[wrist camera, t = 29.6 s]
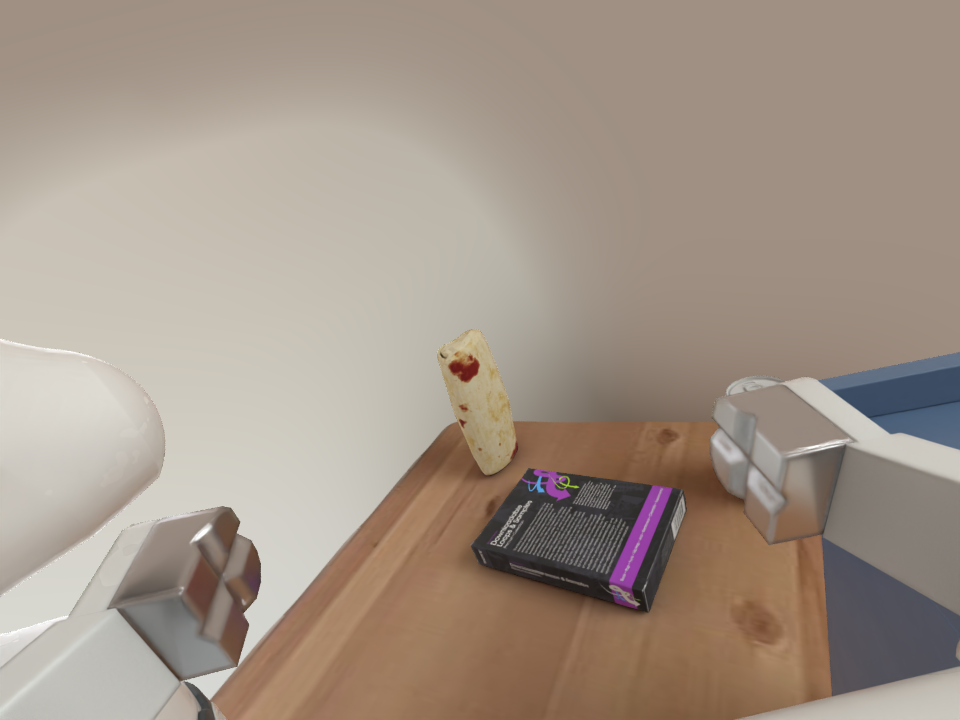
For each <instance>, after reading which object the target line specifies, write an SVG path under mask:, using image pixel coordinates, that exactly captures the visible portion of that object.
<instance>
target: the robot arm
mask: <svg viewBox="0 0 960 720" xmlns="http://www.w3.org/2000/svg"><path fill="white" fill-rule="evenodd" d="M712 419H713V420H714V421H715V422H716V423H717V424H718V426H719V428H718V429H717V431H716V432H715V433H714V435H713V436H712V437H711V438H710V457H711V461H712V465H713V469H714V471H715V473H716V475H717V477H718V479H719V481H720V482H721V484H722V485H723V486H724V488H725V489H726V491H727V492H728V493H730V494H732V495H734V496H737V497H739V498H741V499H743V500H745V504H744V514H745V515H746V516H747V518H748V519H749V520H750V522H751V523H752V524H753V525H754V527H755V528H756V529H757V530H758V532H759V533H760V534H761V536H762V537H763V538H764V539H765V541H766V542H767V543H768V544H769V545H772V544H777V543H782V542H787V541H792V540H797V539H802V538H807V537H812V536H817V535H822V534H823V538H825V539H827V540H829V541H830V542H832V543H834V544H836V545H837V546H839V547H841V548H843V549H844V550H846V551H848V552H849V553H851V554H853V555H855V556H856V557H858V558H860V559H862V560H863V561H865V562H867V563H869V564H870V565H872V566H874V567H876V568H877V569H879V570H881V571H883V572H884V573H886V574H888V575H890V576H891V577H893V578H895V579H897V580H898V581H900V582H902V583H904V584H905V585H907V586H909V587H911V588H912V589H914V590H916V591H918V592H919V593H921V594H923V595H925V596H926V597H928V598H930V599H932V600H933V601H935V602H937V603H939V604H940V605H942V606H944V607H945V608H947V609H949V610H951V611H952V612H954V613H956V614H958V615H959V616H960V450H958V449H954V448H951V447H948V446H944V445H941V444H938V443H934V442H931V441H927V440H924V439H921V438H917V437H914V436H911V435H907V434H904V433H897V434H892V435H891V434H889V433H888V432H886V431H885V430H884V429H882V428H881V427H880V426H878V425H877V424H876V423H874V422H873V421H872V420H870V419H869V418H867V417H866V416H865V415H863V414H862V413H861V412H859V411H858V410H857V409H855V408H854V407H853V406H851V405H850V404H848V403H847V402H846V401H844V400H843V399H842V398H840V397H839V396H838V395H836V394H835V393H833V392H832V391H831V390H829V389H828V388H827V387H825V386H824V385H823V384H821V383H820V382H819V381H817V380H815V379H812V378H808V377H803V378H799V379H795V380H790V381H786V382H782V383H778V384H776V385H773V386H768V387H764V388H759V389H755V390H750V391H746V392H741V393H737V394H733V395H728V396H724V397H719V398H717V399H716V401H715V403H714V405H713V412H712ZM164 455H165V435H164V429H163V425H162V421H161V418H160V415H159V413H158V411H157V408H156V406H155V405H154V403H153V401H152V400H151V398H150V397H149V395H148V394H147V393H146V392H145V390H144V389H143V388H142V387H141V386H140V385H139V384H138V383H137V382H136V381H135V380H133V379H132V378H131V377H130V376H128V375H127V374H126V373H124V372H123V371H121V370H120V369H118V368H116V367H114V366H112V365H111V364H109V363H107V362H104V361H102V360H99V359H97V358H94V357H91V356H88V355H85V354H81V353H77V352H72V351H66V350H57V349H47V348H40V347H34V346H28V345H23V344H18V343H15V342H11V341H7V340H3V339H0V597H1V596H3V595H4V594H6V593H7V592H9V591H10V590H12V589H13V588H15V587H16V586H18V585H20V584H21V583H22V582H24V581H26V580H27V579H29V578H30V577H32V576H33V575H35V574H36V573H38V572H39V571H41V570H42V569H44V568H46V567H47V566H48V565H50V564H52V563H53V562H55V561H56V560H58V559H59V558H61V557H62V556H64V555H65V554H67V553H68V552H70V551H72V550H73V549H75V548H76V547H78V546H79V545H81V544H82V543H84V542H85V541H87V540H88V539H90V538H91V537H93V536H94V535H95V534H96V533H98V532H99V531H100V530H101V529H102V528H103V527H104V526H106V525H107V524H108V523H109V522H110V521H111V520H112V519H114V518H115V517H116V516H117V515H118V514H119V513H120V512H122V511H123V510H124V509H125V508H126V507H127V506H128V505H129V504H130V503H131V502H133V501H134V500H135V499H136V498H137V497H138V496H139V495H140V494H141V493H142V492H143V491H144V490H146V489H147V488H148V486H150V485H151V484H152V483H153V482H154V481H155V480H156V479H157V478H158V477H159V475H160V472H161V469H162V466H163V461H164ZM239 524H240V521H239V519H238V518H237V516H236V515H235V513H234V512H233V510H232V509H231V508H229V507H224V506H222V507H217V508H211V509H206V510H201V511H196V512H191V513H186V514H181V515H176V516H171V517H165V518H162V519H159V520H153V521H148V522H143V523H138V524H133V525H130V526H129V527H127V528H126V529H124V530H123V531H121V533H120V535H119V536H118V538H117V539H116V541H115V543H114V544H113V546H112V547H111V549H110V550H109V552H108V554H107V555H106V557H105V559H104V560H103V562H102V563H101V565H100V566H99V568H98V570H97V571H96V573H95V574H94V576H93V578H92V579H91V581H90V582H89V584H88V586H87V587H86V589H85V591H84V592H83V594H82V595H81V597H80V599H79V600H78V602H77V603H76V605H75V607H74V608H73V610H72V611H71V613H70V614H69V616H64V617H59V618H56V619H52V620H49V621H45V622H42V623H39V624H36V625H33V626H30V627H26V628H23V629H20V630H16V631H13V632H8V633H3V634H0V720H227V719H226V717H225V716H224V715H223V713H222V712H221V711H220V710H219V708H218V707H217V706H216V705H215V704H214V702H212V703H211V702H210V701H209V700H208V699H207V698H206V696H205V695H204V694H203V693H202V692H201V691H200V690H199V689H198V688H197V687H196V686H194V685H193V684H191V683H188V682H184V681H183V680H187V679H191V678H195V677H199V676H203V675H206V674H210V673H214V672H218V671H222V670H226V669H230V668H233V667H237V666H238V662H239V659H240V655H241V651H242V648H243V645H244V641H245V638H246V634H247V631H248V627H249V623H248V621H247V620H246V618H245V616H244V614H243V613H244V612H245V611H246V610H247V609H248V608H249V607H250V605H251V604H252V603H253V602H254V600H256V599H257V595H258V591H259V587H260V583H261V563H260V560H259V556H258V552H257V550H256V548H255V546H254V545H253V543H252V541H251V540H249V539H247V538H245V537H243V536H241V535H239V534H237V530H238V527H239ZM956 657H957V658H958V660H959V661H960V640H959V642H958V644H957V648H956ZM735 720H960V666H958V667H954V668H950V669H946V670H941V671H937V672H933V673H929V674H925V675H920V676H916V677H912V678H908V679H904V680H899V681H895V682H891V683H887V684H883V685H878V686H874V687H870V688H866V689H862V690H857V691H853V692H849V693H845V694H840V695H836V696H832V697H828V698H824V699H819V700H815V701H811V702H807V703H803V704H798V705H794V706H790V707H786V708H782V709H777V710H773V711H769V712H765V713H760V714H756V715H752V716H748V717H744V718H739V719H735Z"/></svg>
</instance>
